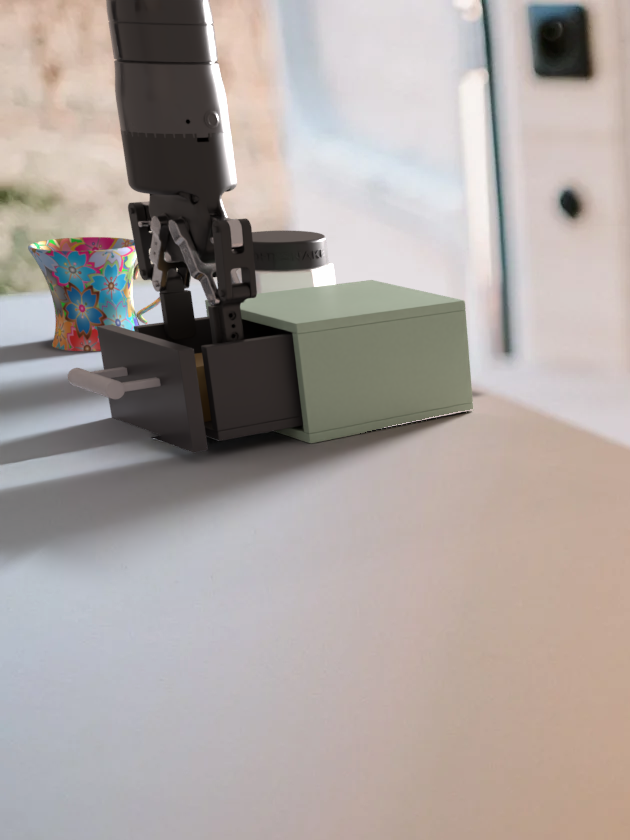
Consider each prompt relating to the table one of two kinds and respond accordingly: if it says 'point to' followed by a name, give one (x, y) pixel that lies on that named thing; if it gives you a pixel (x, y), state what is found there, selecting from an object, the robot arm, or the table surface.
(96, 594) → the table surface
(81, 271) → the mug
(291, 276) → the jar
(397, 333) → the green drawer cabinet
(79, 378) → the dark drawer with handle
